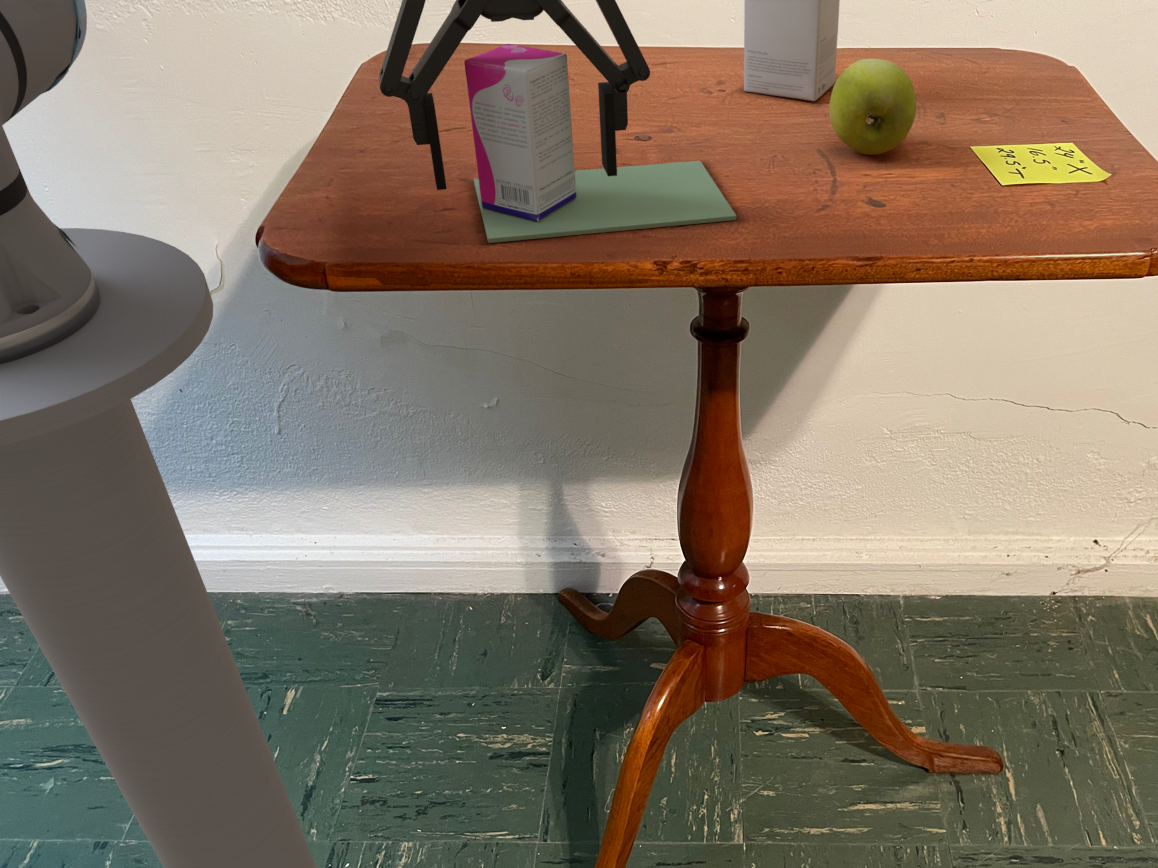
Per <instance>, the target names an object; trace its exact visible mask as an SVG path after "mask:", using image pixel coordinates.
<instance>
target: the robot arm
mask: <svg viewBox="0 0 1158 868" xmlns="http://www.w3.org/2000/svg"><path fill="white" fill-rule="evenodd" d="M595 2H596V4H597V6H598V8H599V10H600V12H601V14H602V16H603V18H604V19H605V22H606V24H607V25H608V28H609V30H610V32H611V34H612V35H613V37H614V39H615V41H616V43H617V45H618V47H619V49H620V51H621V53H622V55H623V57H624V59H625V60H626V61H625V62H622V63H621V64H617V63H616V62H615V60H614V59H613V58H612V57H611V56H610V55H609V54H608V53H607V51H606V50H605V49H604V48H603V47H602V45H601V44H599V42H598V41H597V40H596V39H595V37H593V35H592V34H591V33H590V32H589V31H588V29H587V28H586V27H585V26H584V25H583V24H582V22H580V20H579V19H578V18H577V17H576V15H575V14H573V12H572V11H571V10H570V9H569V8H568V7H567V5H566V4H565V2H564V1H563V0H455V1H454V2H453V5H452V6H451V10H450V11H449V13H448V15H447V17H446V18H445V20H444V21H443V23H442V24H441V26H440V28H439V29H438V31H436V33H435V35H434V36H433V38H432V40H431V41H430V43H429V44H428V46H427V47H426V49H425V51H424V52H423V53H422V55H421V57H420V58H419V59H418V61H417V63H416V64H415V66H414V68H413V69H412V71H411V72H410V73H409V75H408V77H407V76H404V75H403V73H404V70H405V67H406V64H407V60H408V58H409V55H410V51H411V49H412V45H413V42H414V39H415V35H416V32H417V30H418V27H419V23H420V20H421V17H422V14H423V11H424V7H425V4H426V0H401V3H400V6H399V10H398V13H397V16H396V19H395V23H394V26H393V30H392V33H391V36H390V39H389V43H388V45H387V48H386V52H385V55H384V58H383V62H382V65H381V68H380V72H379V74H378V80H379V89H380V92H381V94H382V95H383V96H385V97H387V98H390V97H394V98H399V99H401V100H403V101H404V102H405V103H406V105H407V108H408V112H409V121H410V126H411V133H412V139H413V141H414V142H415V144H416V145H417V146H425V145H429V147H430V155H431V162H432V167H433V175H434V181H435V186H436V191H441V190H442V191H443V190H448V188H447V182H446V181H447V180H446V175H445V169H444V160H443V153H442V148H441V147H442V146H441V141H440V134H439V127H438V120H437V114H436V113H437V112H436V105H435V101H434V94H433V92H429V91H430V89H431V88H432V87H433V85H434V84H435V82H436V81H437V79H438V77H439V76H440V75H441V73H442V71H443V70H444V68H445V67H446V65H447V64H448V63H449V61H450V60H451V58H452V56H453V55H454V53H455V52H456V50H457V48H458V47H459V46H460V44H461V42H462V41H463V39H464V38H465V36H466V35H467V33H468V32H469V31H471V30H472V28H473V27H474V25H475V24H476V22H477V21H478V19H479V18H480V16H482V17H483V18H485V19H487V20H490V21H491V23H495V22H497V23H498V22H504V21H507V20H510V19H517V20H521V21H534V20H535V18H536V17H538V16H540V15H541V14H542V13H543V12H545V14H546V15H548V17H549V18H550V19H551V20H552V21H553V22H554V23H555V25H556V26H558V27H559V28H560V30H561V31H562V32H563V33H564V34H565V35H566V36H567V37H568V38H569V39H570V41H571V42H572V43H573V44H574V45H575V46H576V47H577V48H578V49H579V51H580V53H582V54H583V55H584V56H585V58H586V59H587V60H588V61H589V62H590V63H591V64H592V65H593V66H594V68H596V70H597V71H598V72H599V73H600V74H601V75H602V77H603V78H604V79H605V80H606V81H604V82H603V81H602V82H597V89H598V90H597V91H598V109H599V112H598V114H599V131H600V152H601V166H602V167H603V168H604V169H605V171H606V173H607V175H608V176H617V167H618V166H617V164H618V162H617V141H616V140H617V139H616V138H617V136H616V132H617V131H626V129H627V128H628V124H629V117H628V115H629V114H628V92H629V90H630V88H631V85H633V84H634V83H637V82H639V81H640V82H645V81H647V80H648V79H649V78H650V76H651V69H650V67H649V65H648V63H647V61H646V59H645V57H644V55H643V53H642V50H641V49H640V47H639V45H638V43H637V40H636V39H635V37H634V35H633V33H632V31H631V29H630V26H629V25H628V23H627V21H626V19H625V17H624V15H623V12H622V10H621V9H620V7H619V5H618V3H617V1H616V0H595ZM87 24H88V13H87V5H86V1H85V0H0V364H2V363H6V362H9V361H13V360H16V359H19V358H22V357H25V356H28V355H31V354H33V353H36V352H39V351H41V350H43V349H46V348H48V347H50V346H52V345H54V344H56V343H58V342H60V341H62V340H64V339H65V338H67V337H69V336H70V335H72V334H73V333H75V332H76V331H77V330H79V329H80V328H81V327H83V326H84V325H85V324H86V323H87V322H88V321H89V320H90V319H91V318H92V317H93V316H94V314H95V313H96V311H97V309H98V307H99V305H100V292H99V290H98V287H97V284H96V282H95V279H94V277H93V274H92V272H91V269H90V268H89V266H88V265H87V264H86V263H85V261H84V260H83V259H82V258H81V256H80V255H79V254H78V253H77V252H76V250H75V249H74V248H73V247H72V246H71V244H70V243H69V242H68V241H70V242H71V243H72V244H73V245H75V244H74V243H73V242H72V241H71V239H70V238H69V237H68V236H67V235H66V233H65V232H64V231H62V230H61V229H60V228H61V227H59V226H58V225H56V223H54V222H53V221H52V220H51V219H50V217H48V215H47V214H46V213H45V212H44V210H43V209H42V208H41V207H40V206H39V205H38V203H37V202H36V201H35V200H34V198H33V196H32V194H31V192H30V190H29V187H28V185H27V183H26V181H25V178H24V176H23V173H22V170H21V168H20V165H19V163H18V160H17V158H16V155H15V153H14V150H13V148H12V146H11V144H10V140H9V138H8V136H7V133H6V131H5V128H4V125H5V124H6V123H8V122H9V121H10V120H11V119H12V118H14V117H15V116H16V115H17V114H19V113H20V112H21V111H23V109H25V108H26V107H27V106H29V105H30V104H31V103H32V102H34V101H35V100H36V99H37V98H39V97H40V96H41V95H43V94H45V93H47V92H50V91H51V90H52V89H54V88H55V87H56V86H57V85H58V84H59V83H60V82H61V81H62V80H63V79H64V78H65V77H66V75H67V74H68V73H69V70H70V68H71V67H72V66H73V64H74V62H75V61H76V60H77V59H78V57H79V56H80V54H81V51H82V49H83V46H84V43H85V40H86V35H87V26H88V25H87ZM67 240H68V241H67ZM75 246H76V245H75Z"/></svg>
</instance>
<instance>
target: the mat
mask: <svg viewBox="0 0 1158 868" xmlns="http://www.w3.org/2000/svg"><path fill="white" fill-rule="evenodd" d="M575 181H576V195H577V196H576V198H575V199H574V200H572V201H571V202H569V203H568V204H566V205H565V206H563V207H561V208H560V209H558V210H556V211H555V212H553V213H552V214H550V215H549V216H547V217H546V218H544V219H542V220H541V221H539V222H537V221H533V220H529V219H525V218H522V217H517V216H514V215H509V214H505V213H501V212H497V211H493V210H489V209H485V208H482V203H481V194H480V186H479V177H478V178H473V184H474V190H475V194H476V197H477V202H478V205H479V209H480V214H481V217H482V218H481V219H482V222H483V226H484V230H485V235H486V239H487V243H488V244H494V243H504V242H515V241H525V240H526V241H527V240H536V239H538V240H539V239H549V238H559V237H571V236H580V235H591V234H602V233H612V232H622V231H623V232H624V231H634V230H643V229H653V228H654V229H655V228H665V227H666V228H667V227H678V226H687V225H696V224H708V223H719V222H729V221H731V222H732V221H737V214H736V212H735V211H734V209H733V208H732V206H731V205H730V203H729V202H728V200H727V199H726V197H725V196H724V194H723V192H722V191H721V190H720V188H719V186H717V184H716V182H715V181H714V179H713V177H712V176H711V175H710V173H709V172H708V170H707V168H706V167H705V166H704V164H703V162H702V161H701V160H689V161H677V162H665V163H652V164H640V165H639V164H638V165H627V166H617V176H608V175H607V173H606V171H605V169H604V167H603V168H591V169H590V168H589V169H578V170H575Z"/></svg>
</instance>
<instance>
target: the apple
mask: <svg viewBox="0 0 1158 868" xmlns="http://www.w3.org/2000/svg"><path fill="white" fill-rule="evenodd" d="M828 105H829V106H828V111H829V112H828V113H829V114H828V115H829V120H830V124H831V126H832V130H833V132H834V133H835V136H837V138H838V139H839V140H840V141H841V142H842V143H844V144H845V145H846V146H847V147H849V148H850V149H852V150H853V151H854V152H856V153H859V154H862V155H867V156H876V155H877V156H878V155H881V154H884V153H887V152H889V151H891V150H893V149H895V148H897V147H898V146H900V144H902V143H903V142H904V140H905V139H906V138H907V136H908V134H909V133H910V131H911V129H912V127H913V124H914V122H915V118H916V113H917V99H916V93H915V90H914V86H913V83H912V80H911V78H910V77H909V76H908V74H907V73H906V72H905V70H904V69H903V68H902V67H900V66H899V65H897V64H896V63H894V62H892V61H889V60H886V59H883V58H863V59H859V60H857V61H855V62H853V63H851V64H850V65H849V66H848V67H847V68H846V69H845V70H844V71H842V73H840V75H839V76H838V77H837V79H836V80H835V83H834V84H833V88H832V90H831V95H830V98H829V104H828Z"/></svg>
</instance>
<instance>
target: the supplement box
mask: <svg viewBox="0 0 1158 868" xmlns="http://www.w3.org/2000/svg"><path fill="white" fill-rule="evenodd" d="M568 68H569V67H568V55H567V53H565V52H558V51H553V50H547V49H541V48H536V47H530V46H523V45H518V44H511V43H506V44H502V45H500V46H498V47H495V48H493V49H490V50H489V51H486V52H483V53H481V54H477V55H475V56H472V57H470V58H467V59H465V60H464V70H465V71H464V72H465V78H466V87H467V94H468V95H467V96H468V102H469V110H470V119H471V126H472V128H471V129H472V135H473V144H474V152H475V153H474V154H475V158H476V159H475V161H476V169H477V176H478V178H479V186H480V194H481V203H482V208H485V209H489V210H493V211H497V212H501V213H505V214H509V215H514V216H517V217H522V218H525V219H529V220H533V221H537V222H539V221H541V220H542V219H544V218H546V217H547V216H549V215H550V214H552V213H553V212H555V211H556V210H558V209H560V208H561V207H563V206H565V205H566V204H568V203H569V202H571V201H572V200H574V199H575V198H576V196H577V195H576V181H575V171H576V170H575V169H576V168H575V156H574V143H573V142H574V141H573V139H574V138H573V130H572V129H573V127H572V125H573V124H572V110H571V97H570V95H571V94H570V80H569V69H568Z"/></svg>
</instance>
